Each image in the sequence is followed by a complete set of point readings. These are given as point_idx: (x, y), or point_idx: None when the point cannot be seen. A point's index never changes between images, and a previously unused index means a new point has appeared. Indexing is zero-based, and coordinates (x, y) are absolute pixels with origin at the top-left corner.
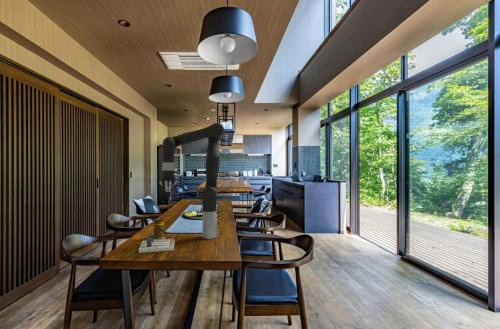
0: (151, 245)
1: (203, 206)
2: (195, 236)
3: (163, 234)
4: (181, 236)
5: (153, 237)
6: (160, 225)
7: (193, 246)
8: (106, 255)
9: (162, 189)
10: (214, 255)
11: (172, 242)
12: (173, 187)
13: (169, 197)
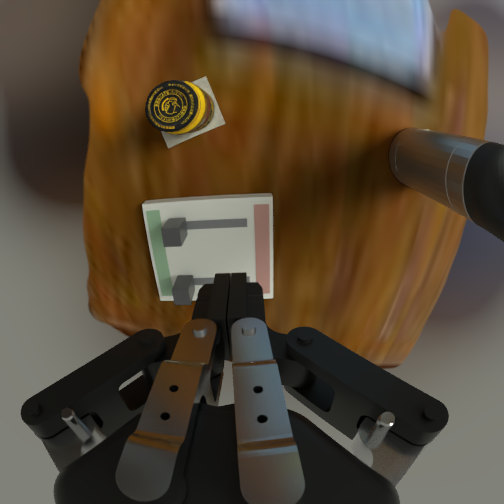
0: (194, 287)
1: (482, 222)
2: (363, 125)
3: (213, 111)
4: (300, 106)
5: (183, 230)
6: (190, 130)
7: (340, 262)
8: (88, 294)
9: (145, 389)
10: (374, 339)
11: (266, 252)
12: (318, 412)
13: (246, 279)
